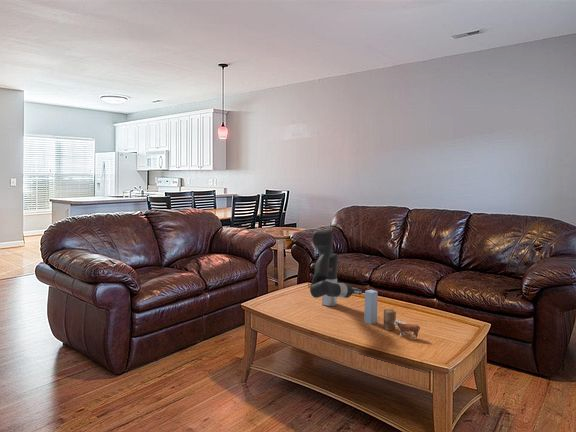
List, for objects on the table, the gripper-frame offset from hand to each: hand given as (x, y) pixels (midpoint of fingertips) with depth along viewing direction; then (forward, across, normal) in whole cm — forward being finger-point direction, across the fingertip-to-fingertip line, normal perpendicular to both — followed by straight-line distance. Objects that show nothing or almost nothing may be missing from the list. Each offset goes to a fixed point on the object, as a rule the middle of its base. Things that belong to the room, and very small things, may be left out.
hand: (362, 291), depth 230 cm
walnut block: (+11, -12, +18) cm, 24 cm away
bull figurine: (+8, -24, +21) cm, 33 cm away
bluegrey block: (+11, +1, +17) cm, 20 cm away
